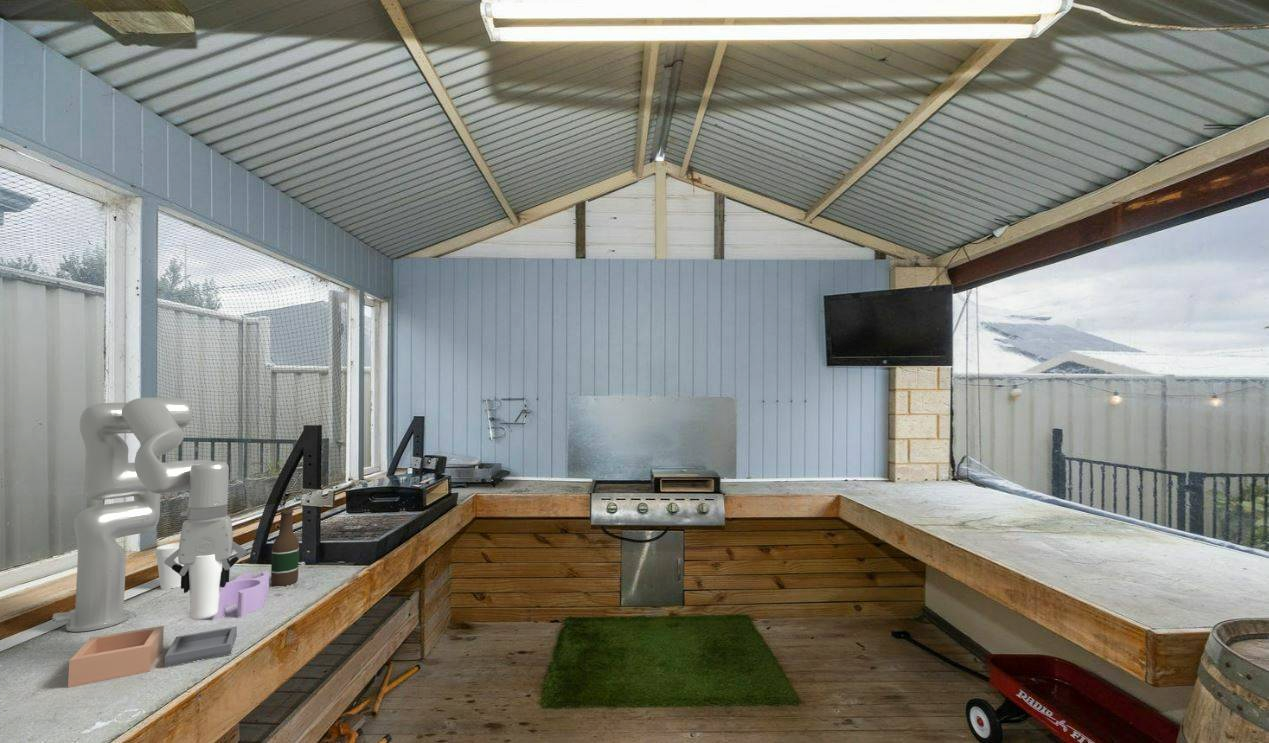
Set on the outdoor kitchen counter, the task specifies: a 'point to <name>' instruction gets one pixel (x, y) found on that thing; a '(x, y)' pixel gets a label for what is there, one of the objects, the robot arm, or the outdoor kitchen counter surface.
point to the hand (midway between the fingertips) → (205, 587)
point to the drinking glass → (204, 586)
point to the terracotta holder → (116, 656)
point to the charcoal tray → (201, 646)
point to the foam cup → (165, 572)
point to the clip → (244, 594)
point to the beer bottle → (285, 553)
